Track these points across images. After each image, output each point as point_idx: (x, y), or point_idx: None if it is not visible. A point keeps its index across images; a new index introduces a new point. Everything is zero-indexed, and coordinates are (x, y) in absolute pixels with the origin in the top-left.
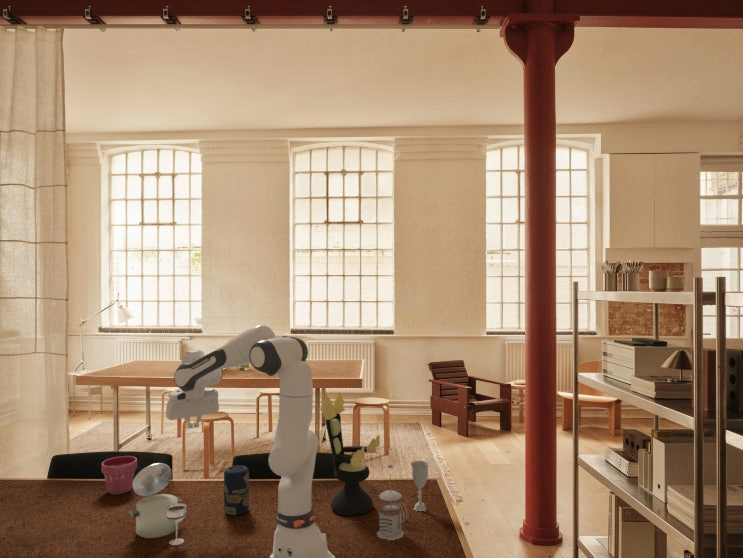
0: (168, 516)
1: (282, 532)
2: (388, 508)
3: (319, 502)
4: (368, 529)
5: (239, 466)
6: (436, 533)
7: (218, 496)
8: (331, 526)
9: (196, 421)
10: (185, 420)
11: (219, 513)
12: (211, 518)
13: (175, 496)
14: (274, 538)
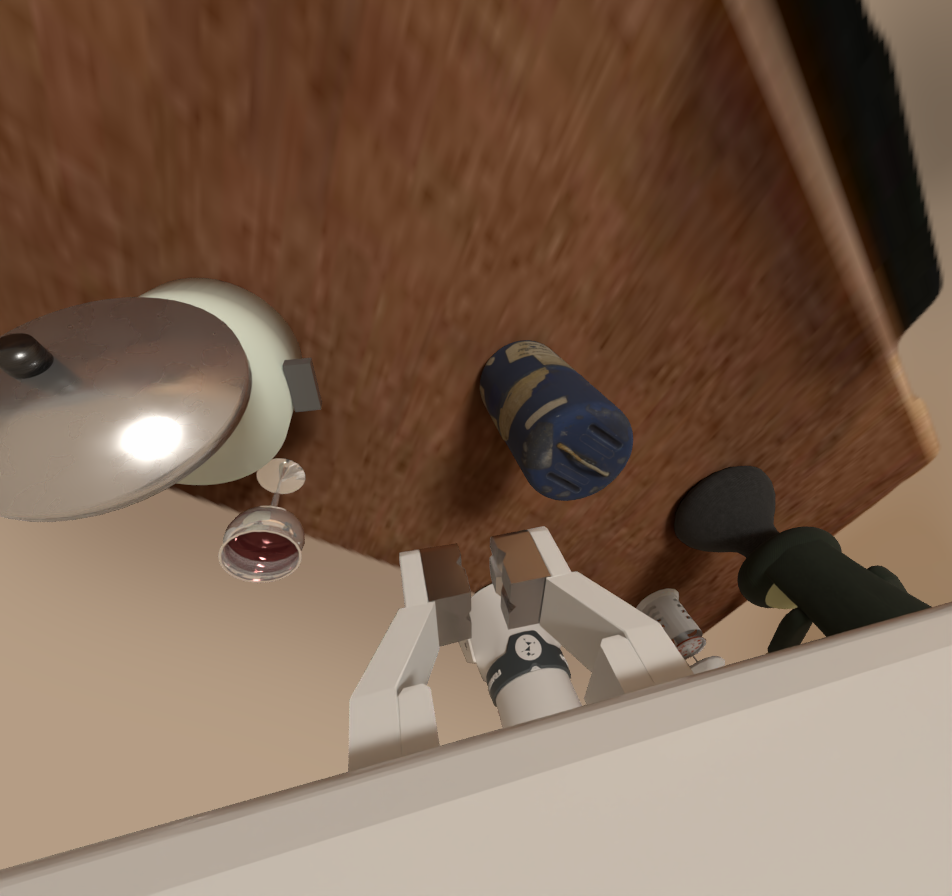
0: (231, 555)
1: (482, 672)
2: (683, 649)
3: (705, 442)
4: (650, 582)
5: (598, 472)
6: (696, 621)
7: (543, 173)
8: (620, 552)
9: (554, 603)
10: (364, 679)
11: (466, 356)
12: (428, 379)
13: (284, 392)
14: (470, 647)
